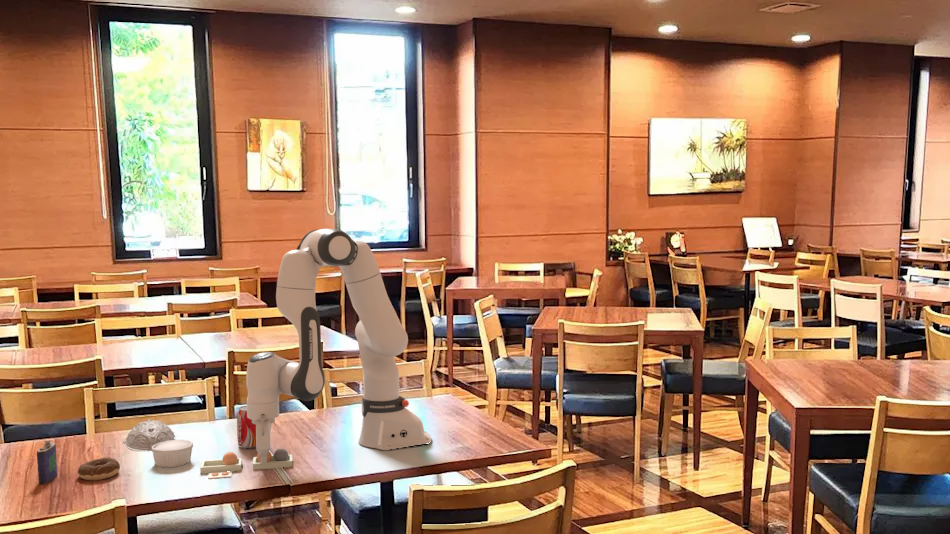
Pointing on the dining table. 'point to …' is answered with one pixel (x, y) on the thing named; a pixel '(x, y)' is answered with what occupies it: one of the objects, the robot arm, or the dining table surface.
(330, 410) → the dining table surface
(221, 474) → the card
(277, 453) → the ball slate
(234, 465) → the tray
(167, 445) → the ramekin
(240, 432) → the soda can
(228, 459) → the terracotta ball
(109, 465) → the donut
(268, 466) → the tray
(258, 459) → the terracotta ball
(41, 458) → the flask
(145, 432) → the grey textured dome
